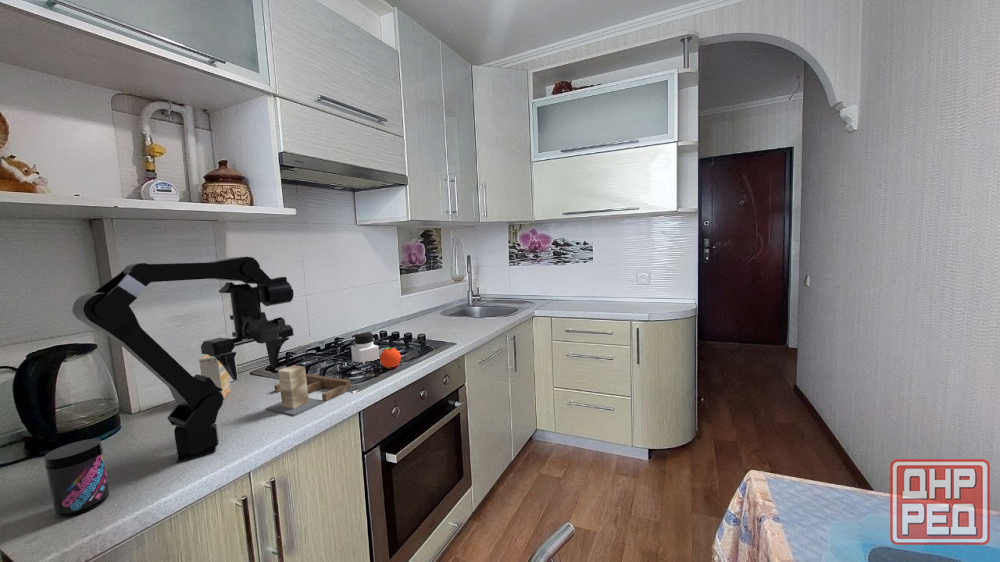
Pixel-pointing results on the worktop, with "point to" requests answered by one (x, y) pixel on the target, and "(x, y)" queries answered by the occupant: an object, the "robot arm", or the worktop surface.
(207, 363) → the supplement box
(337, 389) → the lane rack
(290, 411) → the rubber mat
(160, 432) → the worktop surface
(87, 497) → the supplement container
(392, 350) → the clementine
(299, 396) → the beech block
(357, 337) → the medicine bottle
